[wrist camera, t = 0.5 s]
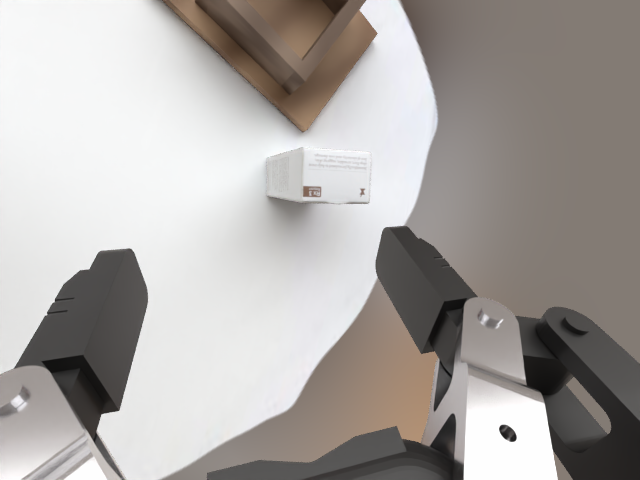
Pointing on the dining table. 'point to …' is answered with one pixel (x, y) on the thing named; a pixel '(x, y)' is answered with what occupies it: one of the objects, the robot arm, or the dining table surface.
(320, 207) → the dining table surface
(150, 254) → the dining table surface
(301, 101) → the sleeve stand
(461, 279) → the robot arm
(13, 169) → the dining table surface
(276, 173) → the skincare box
